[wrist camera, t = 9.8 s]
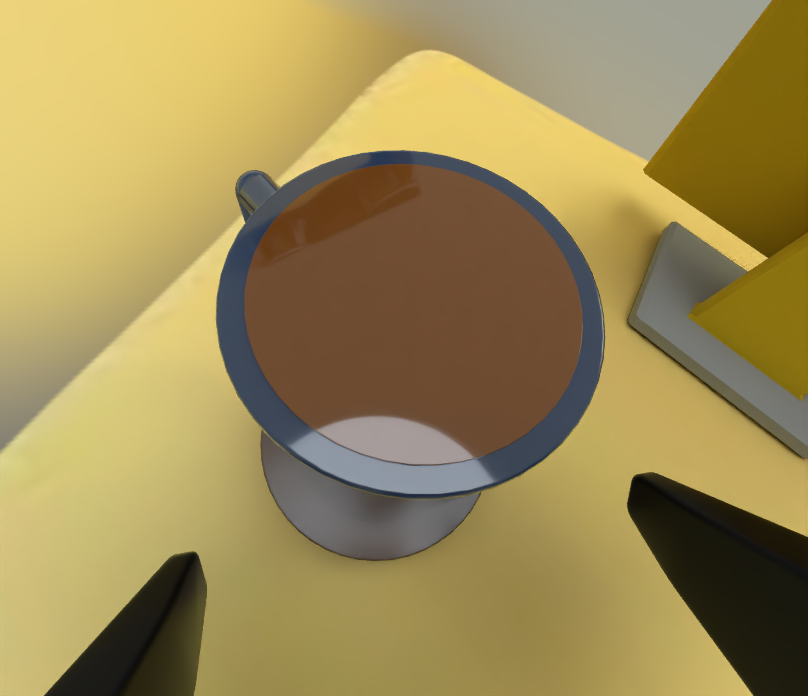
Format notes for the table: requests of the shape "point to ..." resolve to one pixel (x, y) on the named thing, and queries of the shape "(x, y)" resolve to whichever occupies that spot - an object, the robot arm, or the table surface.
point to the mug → (407, 328)
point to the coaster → (351, 533)
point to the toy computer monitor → (742, 230)
